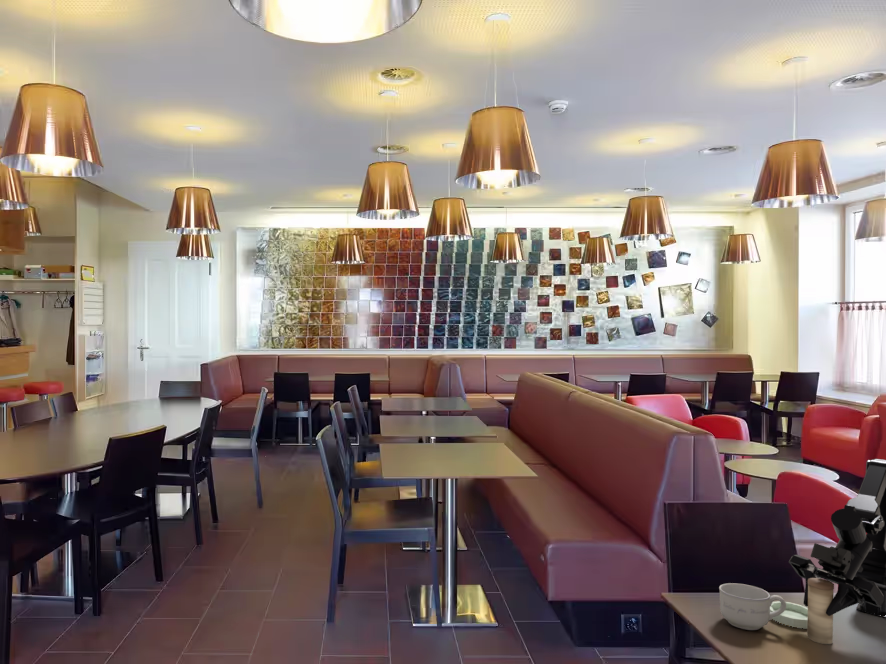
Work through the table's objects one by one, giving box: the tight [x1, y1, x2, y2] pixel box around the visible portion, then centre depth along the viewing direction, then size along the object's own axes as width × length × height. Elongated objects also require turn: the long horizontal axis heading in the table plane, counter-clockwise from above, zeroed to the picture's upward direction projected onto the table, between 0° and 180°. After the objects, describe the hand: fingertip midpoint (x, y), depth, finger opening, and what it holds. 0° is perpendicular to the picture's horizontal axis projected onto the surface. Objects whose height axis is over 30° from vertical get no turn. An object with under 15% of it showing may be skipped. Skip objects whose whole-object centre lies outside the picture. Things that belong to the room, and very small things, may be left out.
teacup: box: [718, 582, 787, 631], centre depth 142 cm, size 14×11×8 cm
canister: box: [806, 578, 835, 645], centre depth 137 cm, size 5×5×12 cm
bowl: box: [770, 600, 808, 630], centre depth 147 cm, size 10×10×2 cm
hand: (816, 609), depth 136 cm, fingers closed on canister, 5 cm apart
